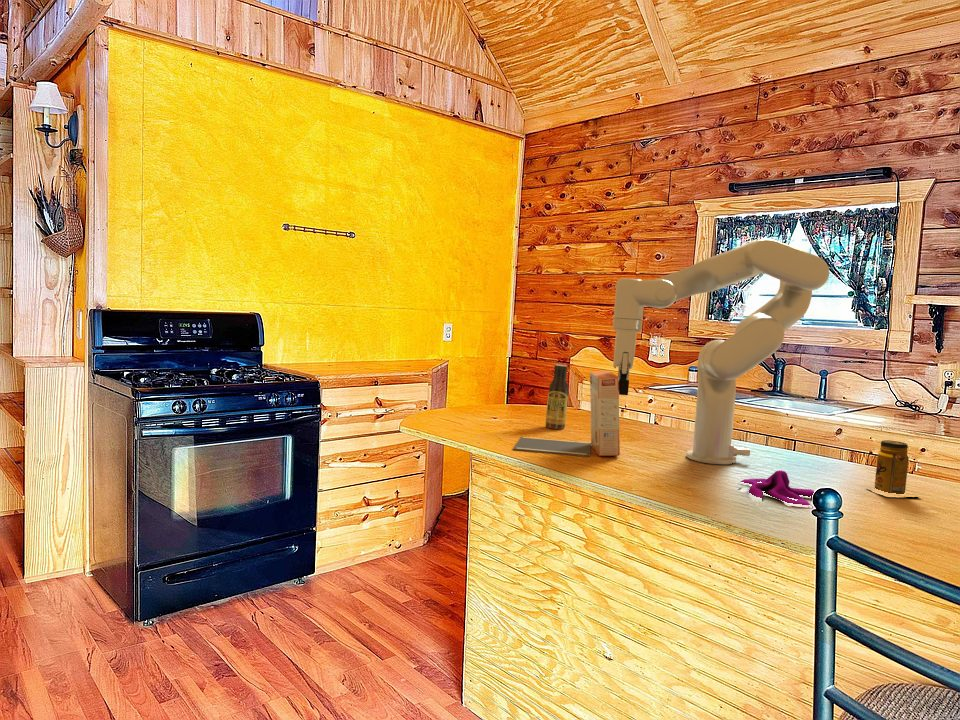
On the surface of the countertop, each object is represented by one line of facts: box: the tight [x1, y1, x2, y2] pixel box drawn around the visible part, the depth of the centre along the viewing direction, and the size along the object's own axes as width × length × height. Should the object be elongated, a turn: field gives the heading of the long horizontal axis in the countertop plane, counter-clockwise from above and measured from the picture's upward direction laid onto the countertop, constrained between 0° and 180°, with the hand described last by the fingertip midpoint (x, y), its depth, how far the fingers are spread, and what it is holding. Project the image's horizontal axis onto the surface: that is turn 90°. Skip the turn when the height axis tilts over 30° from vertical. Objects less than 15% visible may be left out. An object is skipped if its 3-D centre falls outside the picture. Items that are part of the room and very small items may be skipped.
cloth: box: [740, 469, 815, 509], centre depth 151 cm, size 22×19×6 cm
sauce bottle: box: [545, 364, 569, 430], centre depth 215 cm, size 7×6×20 cm
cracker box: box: [589, 370, 621, 457], centre depth 185 cm, size 14×6×21 cm, turn 179°
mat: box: [512, 436, 592, 458], centre depth 189 cm, size 20×16×1 cm
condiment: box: [874, 439, 910, 494], centre depth 156 cm, size 7×8×12 cm
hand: (621, 394), depth 184 cm, fingers closed
